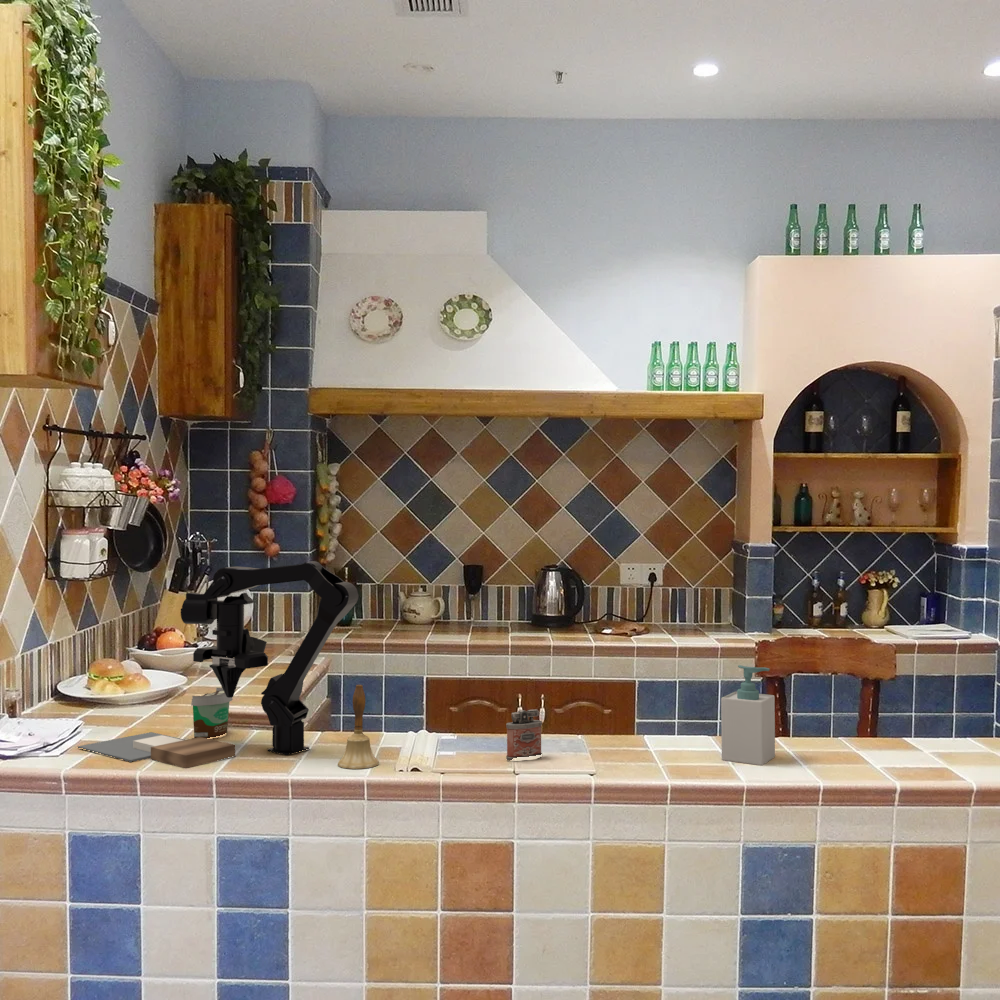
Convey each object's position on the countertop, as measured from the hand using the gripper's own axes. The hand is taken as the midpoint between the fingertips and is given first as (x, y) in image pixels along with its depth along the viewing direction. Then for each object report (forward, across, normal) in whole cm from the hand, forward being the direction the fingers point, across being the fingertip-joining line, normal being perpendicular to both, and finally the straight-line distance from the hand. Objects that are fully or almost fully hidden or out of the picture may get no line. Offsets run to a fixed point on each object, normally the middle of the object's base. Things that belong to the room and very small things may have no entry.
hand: (229, 697), depth 214 cm
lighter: (+11, -56, -31) cm, 65 cm away
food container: (+11, +12, -6) cm, 18 cm away
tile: (+10, +10, +10) cm, 18 cm away
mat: (+11, +16, +11) cm, 22 cm away
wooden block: (+11, -1, +10) cm, 15 cm away
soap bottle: (+11, -93, -59) cm, 111 cm away
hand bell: (+11, -32, -7) cm, 35 cm away
